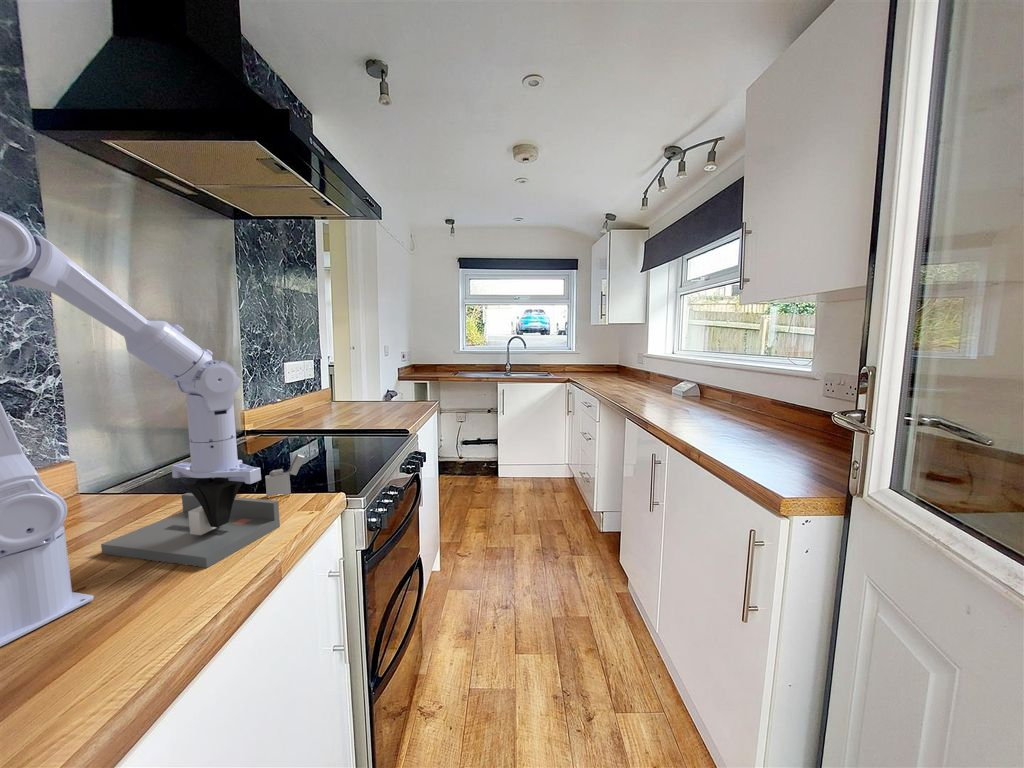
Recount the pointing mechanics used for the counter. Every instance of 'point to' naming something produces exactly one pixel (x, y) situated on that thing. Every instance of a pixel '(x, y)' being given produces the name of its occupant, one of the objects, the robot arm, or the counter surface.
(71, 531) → the counter surface
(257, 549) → the counter surface
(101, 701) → the counter surface
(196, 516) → the knob
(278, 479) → the lighter
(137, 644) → the counter surface
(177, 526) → the switch panel
